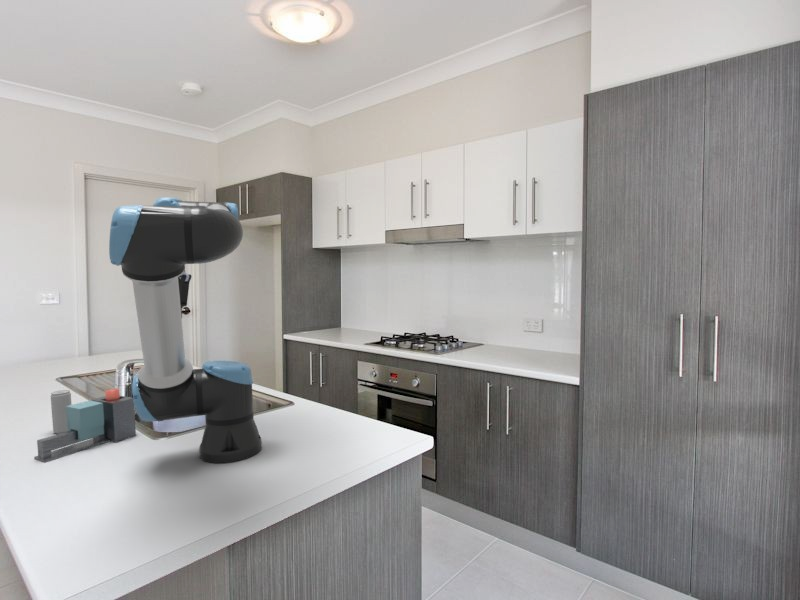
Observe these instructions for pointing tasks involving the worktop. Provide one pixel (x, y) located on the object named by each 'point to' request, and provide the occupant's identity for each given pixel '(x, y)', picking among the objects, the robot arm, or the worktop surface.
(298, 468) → the worktop surface
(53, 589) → the worktop surface
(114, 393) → the red block
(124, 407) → the rail station
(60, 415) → the beverage can
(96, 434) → the carriage
